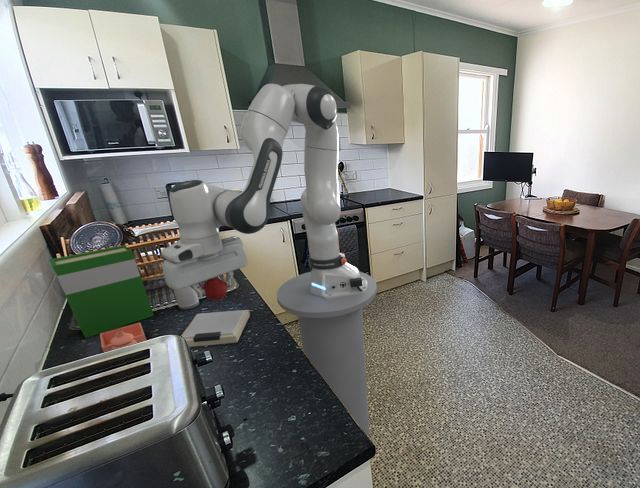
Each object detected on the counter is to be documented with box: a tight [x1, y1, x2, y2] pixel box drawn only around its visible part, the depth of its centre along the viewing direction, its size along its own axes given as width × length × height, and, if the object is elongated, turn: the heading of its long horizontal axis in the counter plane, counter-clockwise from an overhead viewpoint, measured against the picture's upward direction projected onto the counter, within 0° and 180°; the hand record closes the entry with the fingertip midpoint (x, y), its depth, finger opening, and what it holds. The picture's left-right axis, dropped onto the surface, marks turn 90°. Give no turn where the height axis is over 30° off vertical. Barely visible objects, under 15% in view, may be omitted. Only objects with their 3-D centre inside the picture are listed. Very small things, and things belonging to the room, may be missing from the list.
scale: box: [180, 309, 251, 348], centre depth 111 cm, size 16×16×3 cm
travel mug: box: [162, 257, 200, 311], centre depth 121 cm, size 6×7×20 cm
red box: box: [99, 321, 147, 353], centre depth 98 cm, size 18×10×10 cm, turn 43°
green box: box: [48, 244, 155, 339], centre depth 110 cm, size 18×7×24 cm, turn 141°
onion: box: [202, 277, 228, 303], centre depth 96 cm, size 6×6×8 cm
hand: (215, 291), depth 96 cm, fingers closed on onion, 6 cm apart
